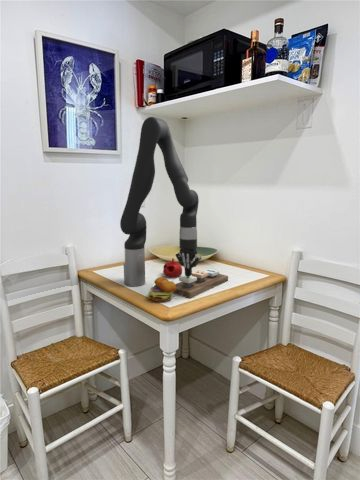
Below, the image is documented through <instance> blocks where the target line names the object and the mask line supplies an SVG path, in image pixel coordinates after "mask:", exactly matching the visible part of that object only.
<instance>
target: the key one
mask: <svg viewBox="0 0 360 480" xmlns="http://www.w3.org/2000/svg"><path fill="white" fill-rule="evenodd" d="M196 280H197V277H194V276H192V275H191V276H189V277H187V276H185V275H183V276H182V275H181V276H179V277H178V281H179V282H183V286H184V287H187V288H189V287H192V286H193V282H194V281H196Z"/></svg>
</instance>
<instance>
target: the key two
mask: <svg viewBox="0 0 360 480" xmlns="http://www.w3.org/2000/svg"><path fill="white" fill-rule="evenodd" d="M204 271H205V270H196V271H192V275H191V276H194V277H197V280H196V282H200V283H201V282H204V281H205V277H206V276H209V273H208V272H204Z"/></svg>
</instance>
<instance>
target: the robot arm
mask: <svg viewBox="0 0 360 480" xmlns="http://www.w3.org/2000/svg"><path fill="white" fill-rule="evenodd" d="M139 137H140V138H139V145H138V151H137V156H136V161H135V165H134V169H133V173H132V175H131V180H130V187H129V191H128V194H127V199H126V203H125V206H124V209H123V211H122V215H121V218H120V220H119V221H120V222H119V225H120V226H119V227H120V230H121V232H122V233H123V234H125V235H128V238H127V239H126V240H125V241H124V263H123V283H125V285H127V286H129V287H141V286H143V285H145V284H146V256H145V255H146V253H145V248H146V247H145V246H146V245H145V244H146V241H147V220H146V218H145V216H144V215H143V214H142V213H140V210H141V208H142V205H143V203H144V201H145V200H146V198H147V197H148V196H149V194H150V192H151V190H152V187H153V186H154V185H153V184H154V181H155V175H156V165H155V151H156V147H157V146H158V148H159V149H160V151H161V153H162V156H163V161H164V162H163V163H164V168H165V170H166V174H167V176H168V178H169V180H170V182H171V185H172V187H173V191H174V194H175V199H176V201H177V203H178V204H179V205H180V206H181V207H182V212H181V213H180V215H179V216H180V217H179V248H180V249H179V252H178V253H176V254H175V257H176V259H177V261H179V262H178V263H179V264H180V265H181V267H183V268H184V276H187V277H189V276H192V273H193V268H196V267H197V266H198V264H199V263H200V261H201V260H202V256H199V255H198V251H197V248H198V230H197V229H198V228H197V227H198V226H197V220H198V218H197V215H198V209H199V202H200V200H199V194H198V192H196V191H195V190H194V189H191V188H190V186H189V183H188V182H189V177H188V175H187V173H186V171H185V168H184V167H183V164H182V162H181V160H180V158H179V155H178V152H177V150H176V147H175V144H174V141H173V138H172V134H171V130H170V127H169V125H168V123H167V122H166V120H164V119H162V118H158V117H155V116H149V117H147V118H145V120H144V121H143V123H142V125H141V129H140V136H139Z"/></svg>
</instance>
